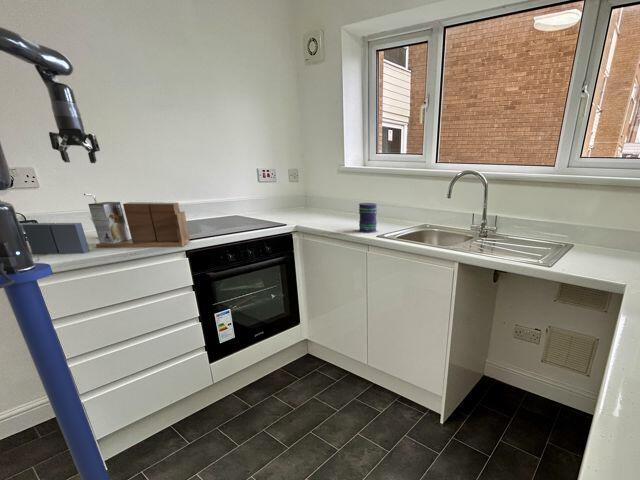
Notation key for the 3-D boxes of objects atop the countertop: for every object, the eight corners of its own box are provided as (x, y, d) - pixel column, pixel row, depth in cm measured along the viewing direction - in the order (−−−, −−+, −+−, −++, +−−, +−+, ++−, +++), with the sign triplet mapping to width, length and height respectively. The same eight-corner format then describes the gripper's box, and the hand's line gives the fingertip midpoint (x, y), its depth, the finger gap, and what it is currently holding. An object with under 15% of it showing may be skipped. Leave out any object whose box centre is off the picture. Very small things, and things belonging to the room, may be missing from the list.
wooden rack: (183, 246, 152) (176, 214, 147) (96, 247, 144) (86, 214, 139) (190, 241, 161) (184, 211, 156) (109, 242, 153) (100, 211, 148)
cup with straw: (121, 236, 165) (109, 192, 158) (99, 240, 157) (86, 193, 150) (109, 234, 168) (98, 191, 161) (88, 238, 160) (74, 192, 153)
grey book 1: (57, 253, 134) (48, 224, 130) (32, 253, 132) (22, 224, 128) (64, 251, 138) (55, 222, 134) (39, 251, 136) (29, 223, 132)
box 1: (156, 242, 151) (147, 203, 145) (132, 242, 148) (122, 203, 143) (161, 239, 156) (153, 202, 150) (138, 239, 154) (129, 202, 148)
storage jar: (356, 231, 197) (355, 204, 191) (364, 228, 205) (364, 202, 200) (371, 233, 193) (371, 205, 188) (379, 230, 202) (379, 203, 196)
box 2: (180, 241, 153) (173, 204, 147) (157, 242, 151) (149, 203, 145) (185, 238, 158) (178, 202, 152) (162, 239, 156) (154, 202, 150)
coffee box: (116, 239, 154) (105, 201, 148) (130, 239, 154) (121, 201, 148) (99, 243, 145) (87, 203, 139) (114, 243, 145) (103, 204, 139)
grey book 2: (83, 252, 136) (75, 224, 132) (59, 253, 134) (49, 224, 130) (89, 250, 140) (81, 222, 136) (65, 250, 138) (56, 222, 134)
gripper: (37, 113, 124) (51, 162, 130) (83, 115, 127) (96, 163, 133) (51, 116, 131) (65, 162, 137) (95, 118, 134) (106, 163, 140)
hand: (80, 162), depth 135 cm, fingers open, 8 cm apart
